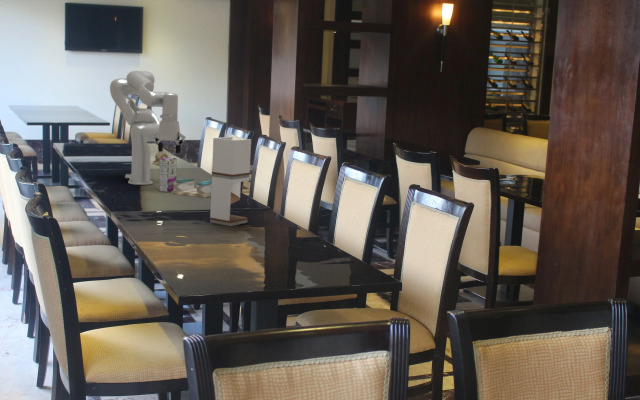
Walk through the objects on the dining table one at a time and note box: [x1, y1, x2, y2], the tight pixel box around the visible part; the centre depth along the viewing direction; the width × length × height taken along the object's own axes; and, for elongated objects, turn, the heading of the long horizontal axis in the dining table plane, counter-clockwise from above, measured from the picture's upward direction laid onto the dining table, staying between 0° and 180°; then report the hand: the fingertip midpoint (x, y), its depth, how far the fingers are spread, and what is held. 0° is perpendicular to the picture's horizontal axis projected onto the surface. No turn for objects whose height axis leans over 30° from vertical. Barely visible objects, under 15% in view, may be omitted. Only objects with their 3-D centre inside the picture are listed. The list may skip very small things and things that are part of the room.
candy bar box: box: [158, 156, 178, 193], centre depth 404 cm, size 11×5×16 cm, turn 168°
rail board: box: [171, 177, 212, 199], centre depth 399 cm, size 18×14×6 cm
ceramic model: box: [152, 149, 169, 167], centre depth 502 cm, size 14×11×10 cm
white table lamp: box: [209, 136, 252, 227], centre depth 331 cm, size 11×11×35 cm
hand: (169, 152), depth 402 cm, fingers open, 9 cm apart
